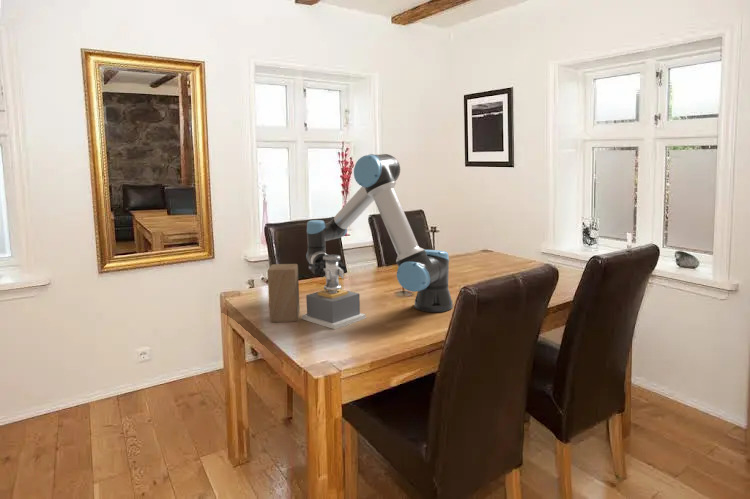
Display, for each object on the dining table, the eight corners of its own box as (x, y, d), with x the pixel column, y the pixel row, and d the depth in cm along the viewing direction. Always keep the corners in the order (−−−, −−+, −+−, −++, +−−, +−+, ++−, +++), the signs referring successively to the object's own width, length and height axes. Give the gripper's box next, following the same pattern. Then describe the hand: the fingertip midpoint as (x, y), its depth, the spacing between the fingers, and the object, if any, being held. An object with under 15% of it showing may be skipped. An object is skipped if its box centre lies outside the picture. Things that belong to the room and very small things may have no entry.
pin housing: (365, 318, 199) (365, 291, 197) (334, 329, 187) (333, 300, 185) (332, 309, 211) (331, 283, 209) (301, 319, 199) (300, 292, 197)
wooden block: (300, 313, 206) (297, 263, 202) (297, 321, 196) (294, 269, 193) (274, 314, 206) (271, 264, 202) (270, 322, 196) (267, 269, 192)
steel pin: (345, 309, 199) (344, 255, 195) (333, 313, 194) (331, 258, 190) (333, 306, 203) (332, 253, 199) (321, 309, 198) (319, 256, 195)
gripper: (343, 269, 216) (359, 283, 194) (300, 273, 211) (311, 287, 189) (342, 251, 215) (358, 263, 193) (299, 254, 209) (311, 266, 187)
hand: (335, 275), depth 191 cm, fingers closed on steel pin, 5 cm apart
